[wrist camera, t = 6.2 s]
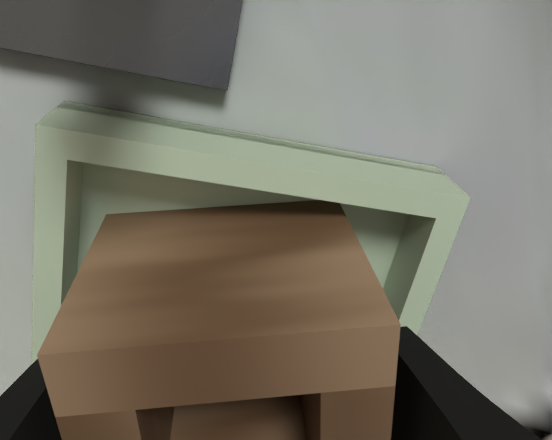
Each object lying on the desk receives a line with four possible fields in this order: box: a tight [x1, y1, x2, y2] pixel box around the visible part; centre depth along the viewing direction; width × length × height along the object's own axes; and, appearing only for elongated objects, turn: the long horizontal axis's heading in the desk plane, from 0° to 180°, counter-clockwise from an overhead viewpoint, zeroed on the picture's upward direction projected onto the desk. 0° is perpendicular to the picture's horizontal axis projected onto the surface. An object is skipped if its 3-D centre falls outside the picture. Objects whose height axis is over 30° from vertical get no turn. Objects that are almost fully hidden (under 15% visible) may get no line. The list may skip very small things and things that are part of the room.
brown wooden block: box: [37, 200, 401, 440], centre depth 11 cm, size 6×6×5 cm
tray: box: [32, 101, 471, 364], centre depth 13 cm, size 9×9×2 cm
